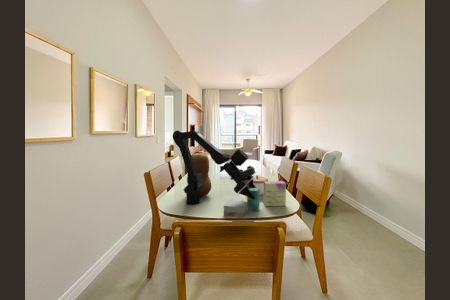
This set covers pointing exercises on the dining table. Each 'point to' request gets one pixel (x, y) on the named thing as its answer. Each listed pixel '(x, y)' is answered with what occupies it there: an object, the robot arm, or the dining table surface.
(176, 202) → the dining table surface
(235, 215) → the tower bottom slab
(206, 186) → the butternut squash
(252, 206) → the teal block
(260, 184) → the lidded bowl
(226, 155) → the robot arm
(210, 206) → the dining table surface
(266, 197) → the box
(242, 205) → the tower top slab
